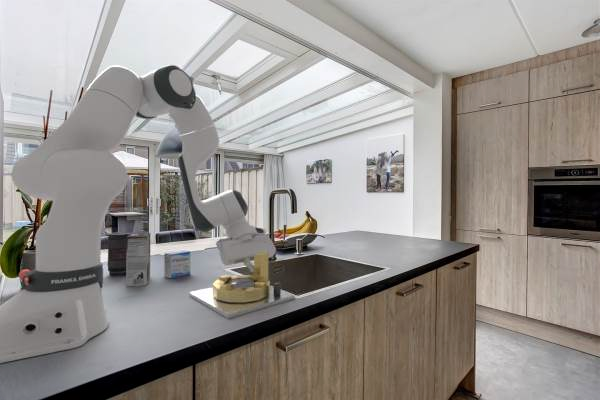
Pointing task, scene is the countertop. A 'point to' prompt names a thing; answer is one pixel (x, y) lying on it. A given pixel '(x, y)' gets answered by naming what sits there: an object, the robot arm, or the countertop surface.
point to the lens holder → (247, 294)
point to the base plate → (241, 307)
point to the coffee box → (138, 259)
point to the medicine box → (176, 264)
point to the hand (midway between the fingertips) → (258, 270)
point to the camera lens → (117, 254)
